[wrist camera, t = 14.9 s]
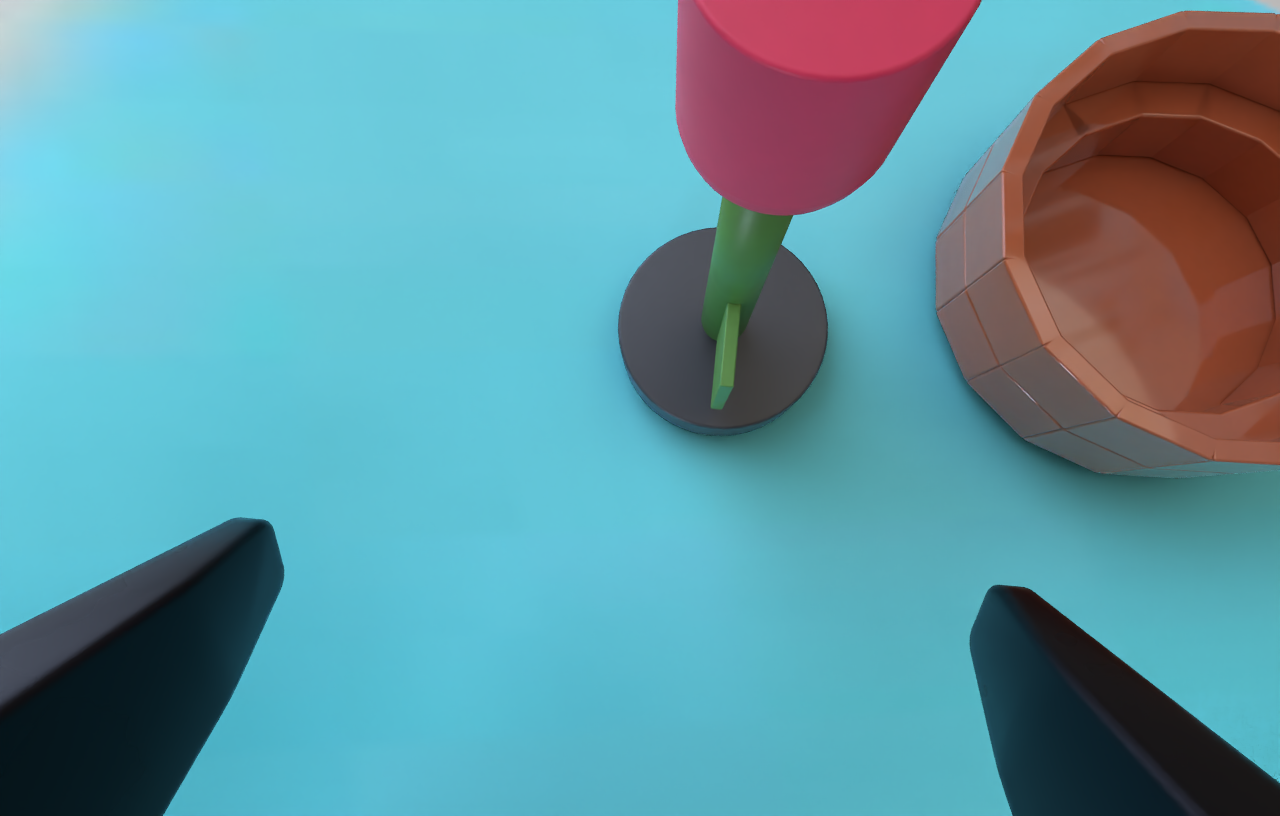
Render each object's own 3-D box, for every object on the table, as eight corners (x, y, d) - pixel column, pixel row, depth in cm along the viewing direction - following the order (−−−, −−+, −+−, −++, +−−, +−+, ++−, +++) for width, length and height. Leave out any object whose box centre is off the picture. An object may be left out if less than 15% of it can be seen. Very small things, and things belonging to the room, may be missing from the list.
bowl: (1381, 404, 19) (1598, 369, 15) (1019, 530, 19) (1128, 534, 14) (1205, 74, 21) (1352, -48, 16) (871, 186, 21) (928, 95, 16)
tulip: (632, 239, 21) (565, -334, 7) (822, 256, 20) (1158, -306, 6) (610, 425, 20) (483, 203, 6) (809, 445, 19) (1162, 263, 6)
